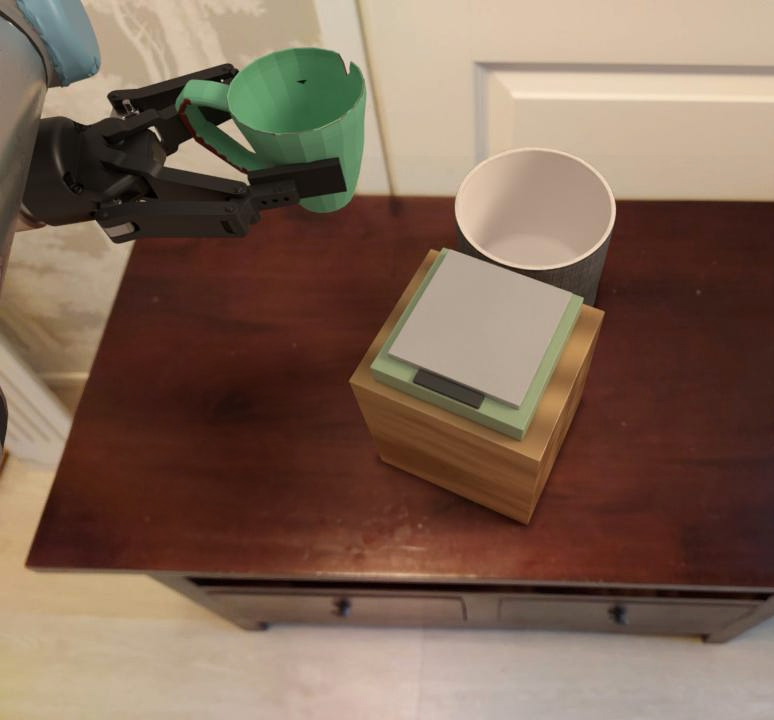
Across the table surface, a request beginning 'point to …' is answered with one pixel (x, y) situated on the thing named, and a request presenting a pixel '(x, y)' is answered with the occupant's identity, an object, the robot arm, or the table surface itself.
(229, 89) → the mug
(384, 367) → the scale
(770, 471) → the table surface
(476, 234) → the planter
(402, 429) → the riser
